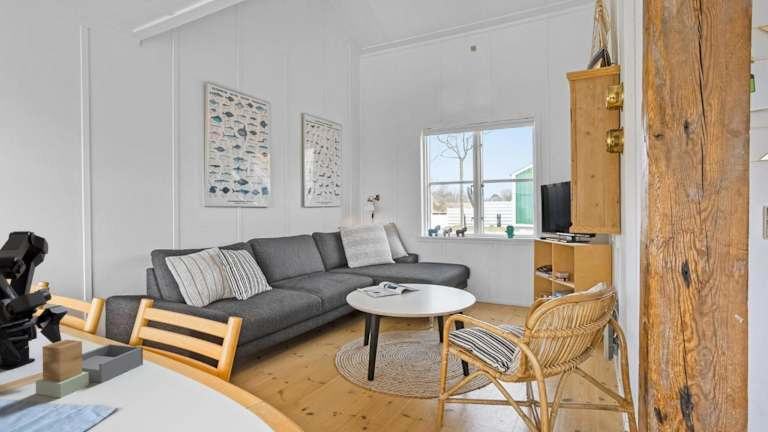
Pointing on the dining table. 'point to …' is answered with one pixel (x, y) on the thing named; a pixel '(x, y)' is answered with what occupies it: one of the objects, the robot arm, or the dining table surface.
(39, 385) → the step
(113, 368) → the tray
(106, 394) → the dining table surface
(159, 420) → the dining table surface
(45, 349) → the oak pillar
